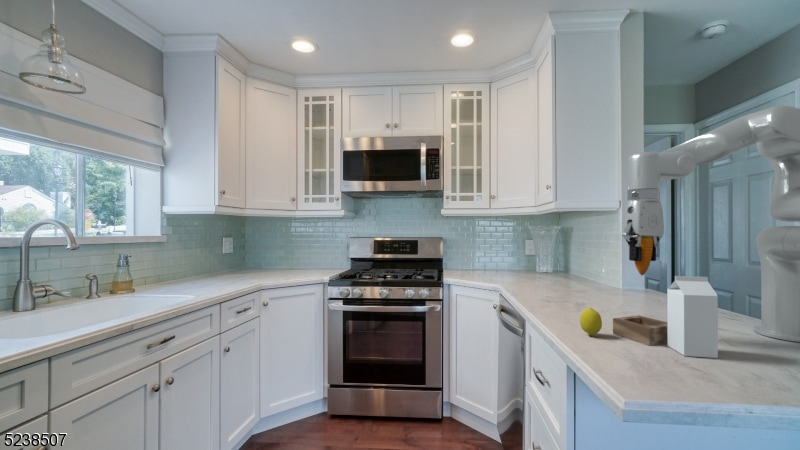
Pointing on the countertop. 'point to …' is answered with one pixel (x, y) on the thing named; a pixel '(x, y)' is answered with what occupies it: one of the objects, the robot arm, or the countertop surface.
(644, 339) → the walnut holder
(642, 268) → the carrot
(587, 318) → the lemon
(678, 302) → the milk carton
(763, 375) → the countertop surface
